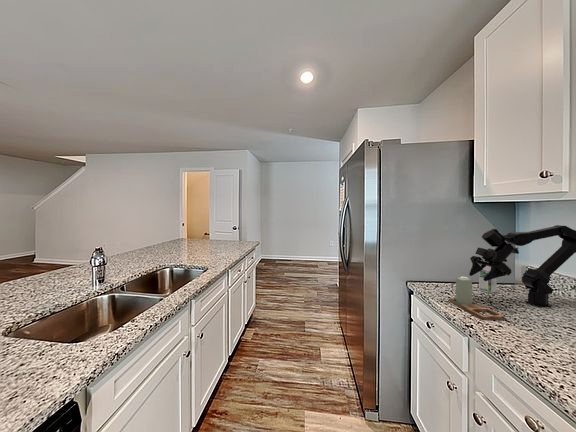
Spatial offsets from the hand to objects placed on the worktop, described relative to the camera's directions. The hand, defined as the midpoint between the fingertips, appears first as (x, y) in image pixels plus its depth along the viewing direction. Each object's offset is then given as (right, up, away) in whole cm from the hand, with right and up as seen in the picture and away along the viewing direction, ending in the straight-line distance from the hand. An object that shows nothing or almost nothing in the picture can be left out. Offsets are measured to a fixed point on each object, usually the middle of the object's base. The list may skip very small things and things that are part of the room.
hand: (476, 277), depth 121 cm
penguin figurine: (+7, -12, +20) cm, 25 cm away
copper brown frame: (-6, -13, -6) cm, 15 cm away
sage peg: (-6, -12, 0) cm, 14 cm away
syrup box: (+19, -12, +18) cm, 29 cm away
